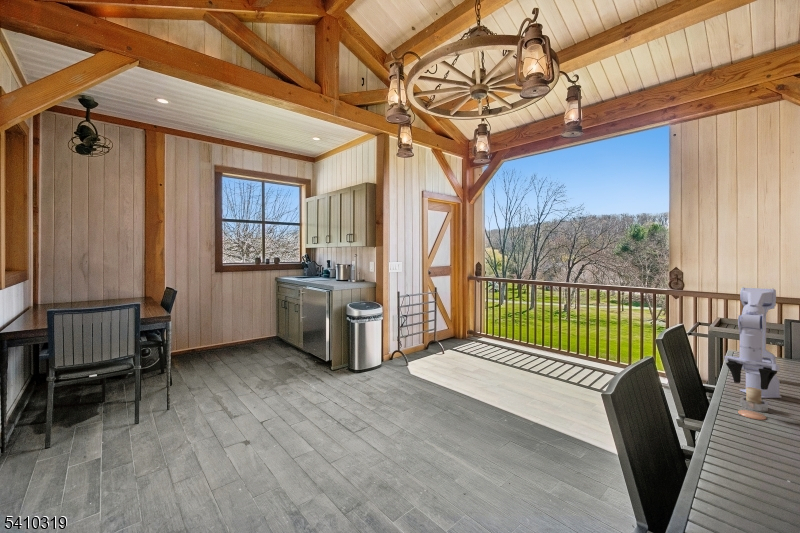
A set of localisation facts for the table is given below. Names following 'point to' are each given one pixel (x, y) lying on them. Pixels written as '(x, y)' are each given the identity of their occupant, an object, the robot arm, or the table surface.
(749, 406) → the collar
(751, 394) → the peg
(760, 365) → the robot arm
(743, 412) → the coaster
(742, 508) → the table surface
